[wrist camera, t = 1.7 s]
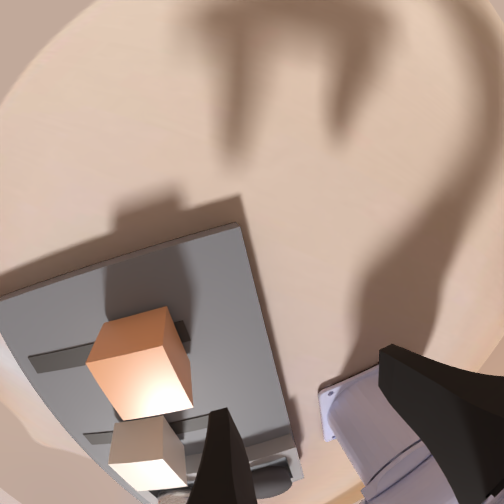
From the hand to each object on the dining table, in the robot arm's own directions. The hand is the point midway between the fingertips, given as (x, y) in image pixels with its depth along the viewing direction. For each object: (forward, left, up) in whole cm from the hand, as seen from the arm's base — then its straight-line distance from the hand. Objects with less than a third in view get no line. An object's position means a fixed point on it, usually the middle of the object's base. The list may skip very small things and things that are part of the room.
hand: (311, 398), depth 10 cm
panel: (+9, +8, -9) cm, 15 cm away
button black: (+3, +16, -6) cm, 17 cm away
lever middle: (+11, +8, -7) cm, 15 cm away
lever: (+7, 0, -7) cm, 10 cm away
